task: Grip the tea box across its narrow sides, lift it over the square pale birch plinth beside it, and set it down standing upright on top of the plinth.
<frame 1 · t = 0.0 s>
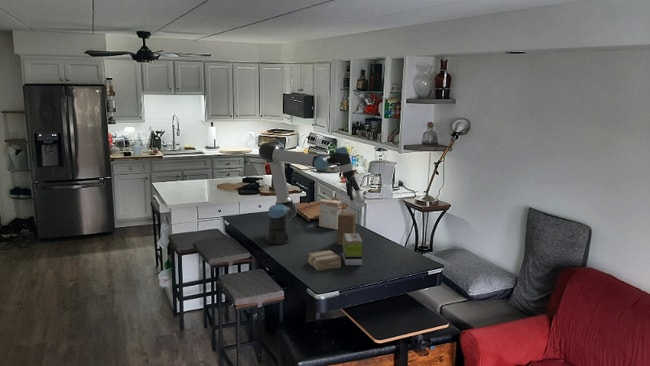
hand: (356, 202, 319), 28 cm above the table, tool tilted 20°, fingers open, 13 cm apart
coffeecake box: (330, 227, 364), on the table
birch plinth: (324, 265, 288), on the table
tea box: (351, 261, 295), on the table
wooden block: (346, 243, 327), on the table
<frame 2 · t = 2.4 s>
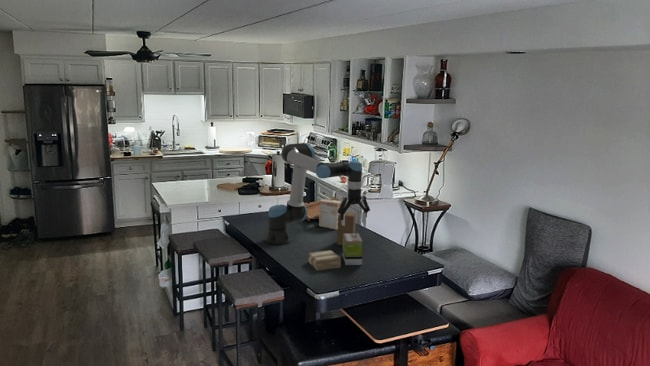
hand: (353, 224, 291), 22 cm above the table, tool pointing down, fingers open, 13 cm apart
nothing on the table moved.
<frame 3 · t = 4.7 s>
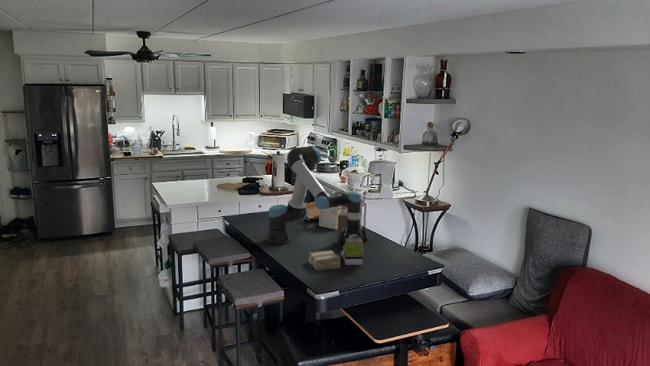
hand: (352, 254, 295), 4 cm above the table, tool pointing down, fingers closed on tea box, 12 cm apart
tea box: (351, 261, 295), on the table, touching gripper
everything else where it was.
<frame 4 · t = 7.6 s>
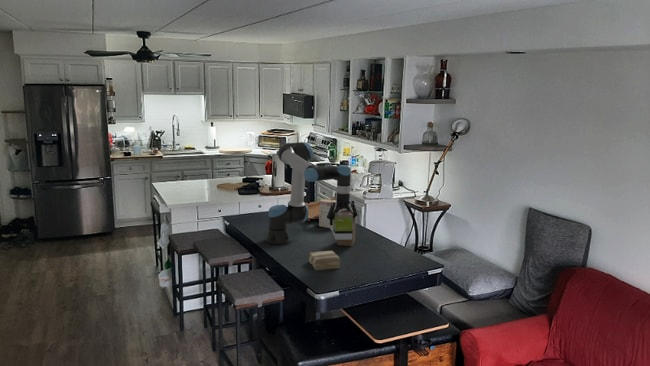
hand: (341, 229, 289), 20 cm above the table, tool pointing down, fingers closed on tea box, 12 cm apart
tea box: (341, 236, 289), point 16 cm above the table, touching gripper
everything else where it was.
when the fingers open (12 cm above the table, at t = 10.9 s): tea box drops 2 cm, resting on birch plinth.
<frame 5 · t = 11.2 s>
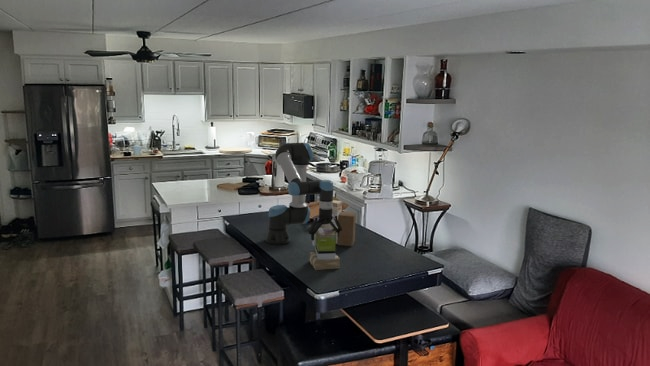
hand: (324, 244, 285), 12 cm above the table, tool pointing down, fingers open, 13 cm apart
birch plinth: (324, 265, 288), on the table, touching tea box
tea box: (324, 255, 287), point 5 cm above the table, touching birch plinth
everything else where it was.
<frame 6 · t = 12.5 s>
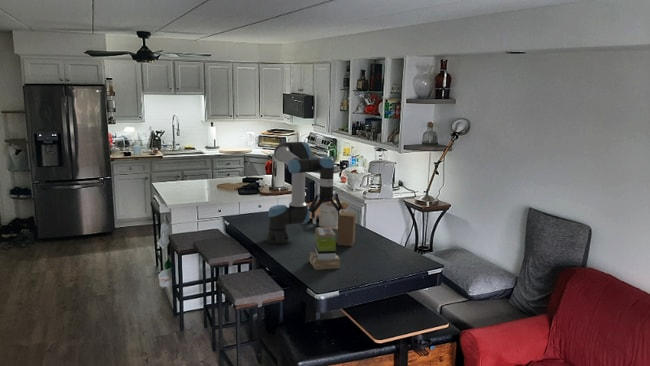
hand: (325, 222, 283), 25 cm above the table, tool pointing down, fingers open, 13 cm apart
nothing on the table moved.
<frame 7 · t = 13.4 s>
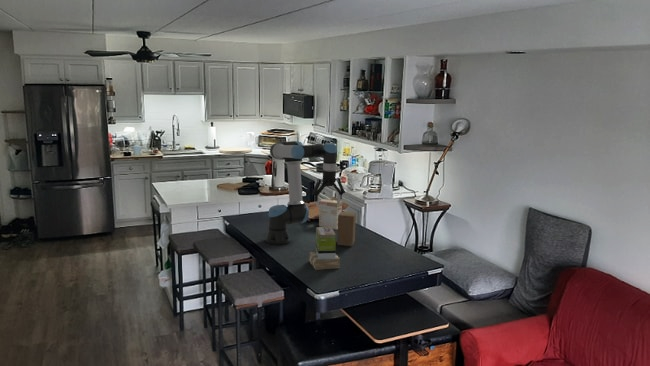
hand: (328, 205, 293), 32 cm above the table, tool pointing down, fingers open, 13 cm apart
nothing on the table moved.
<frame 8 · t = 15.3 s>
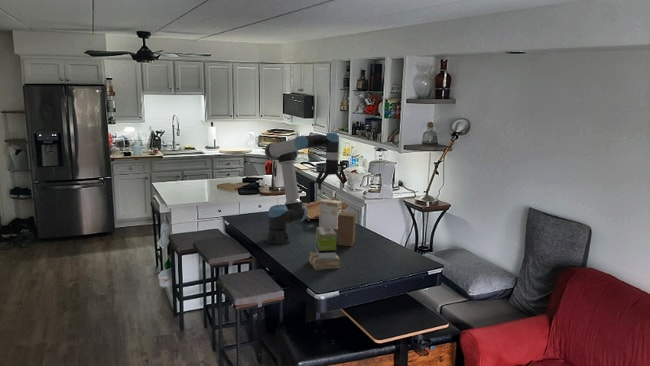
hand: (331, 194, 302), 37 cm above the table, tool pointing down, fingers open, 13 cm apart
birch plinth: (324, 265, 288), on the table
tea box: (325, 254, 288), point 5 cm above the table
everything else where it was.
at the end: tea box inside the target area on the birch plinth (1.1 cm from its centre), point 5.9 cm above the birch plinth's base; tea box tilted 0°; the gripper is holding nothing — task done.
